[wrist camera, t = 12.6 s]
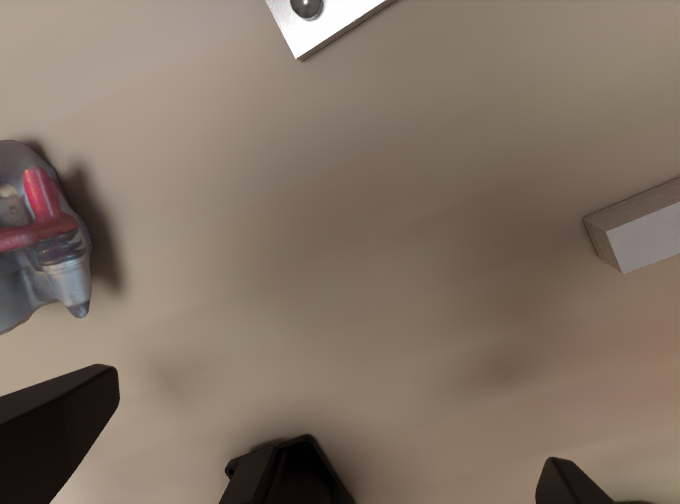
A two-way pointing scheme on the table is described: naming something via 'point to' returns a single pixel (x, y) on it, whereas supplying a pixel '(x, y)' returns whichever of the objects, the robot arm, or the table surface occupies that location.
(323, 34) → the silver bolted socket base
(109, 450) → the table surface
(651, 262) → the loose bracket
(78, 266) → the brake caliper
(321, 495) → the robot arm
